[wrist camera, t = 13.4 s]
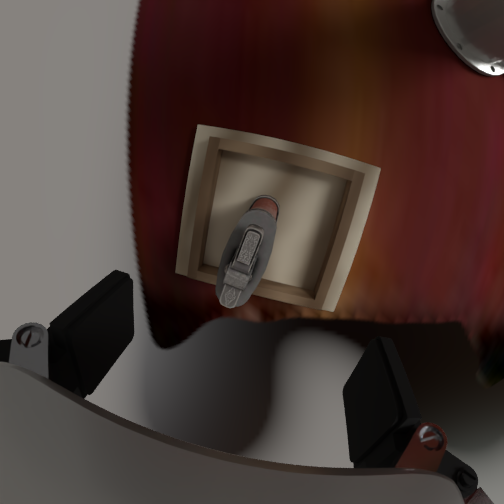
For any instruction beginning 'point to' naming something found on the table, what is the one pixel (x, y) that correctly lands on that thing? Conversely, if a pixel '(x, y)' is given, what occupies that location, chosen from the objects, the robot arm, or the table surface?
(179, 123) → the table surface
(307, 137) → the table surface
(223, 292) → the lighter
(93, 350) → the robot arm
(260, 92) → the table surface
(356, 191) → the square beige tray
